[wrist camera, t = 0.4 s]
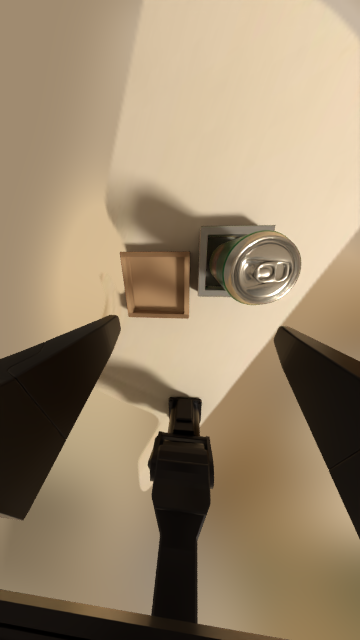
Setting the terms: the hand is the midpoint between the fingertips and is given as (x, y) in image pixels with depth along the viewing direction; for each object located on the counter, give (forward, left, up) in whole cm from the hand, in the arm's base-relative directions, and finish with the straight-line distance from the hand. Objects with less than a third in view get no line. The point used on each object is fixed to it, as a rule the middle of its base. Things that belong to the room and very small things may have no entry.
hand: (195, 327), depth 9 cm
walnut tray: (0, +5, -15) cm, 16 cm away
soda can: (+3, -4, -15) cm, 16 cm away
